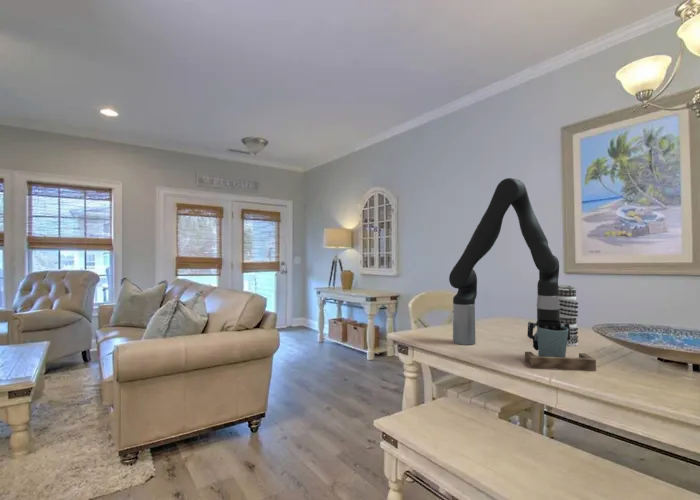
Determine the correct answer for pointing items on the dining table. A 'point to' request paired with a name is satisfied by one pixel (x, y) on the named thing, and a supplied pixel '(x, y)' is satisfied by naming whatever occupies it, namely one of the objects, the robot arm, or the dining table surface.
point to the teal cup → (552, 342)
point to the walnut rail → (561, 362)
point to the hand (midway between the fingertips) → (548, 350)
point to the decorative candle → (569, 311)
